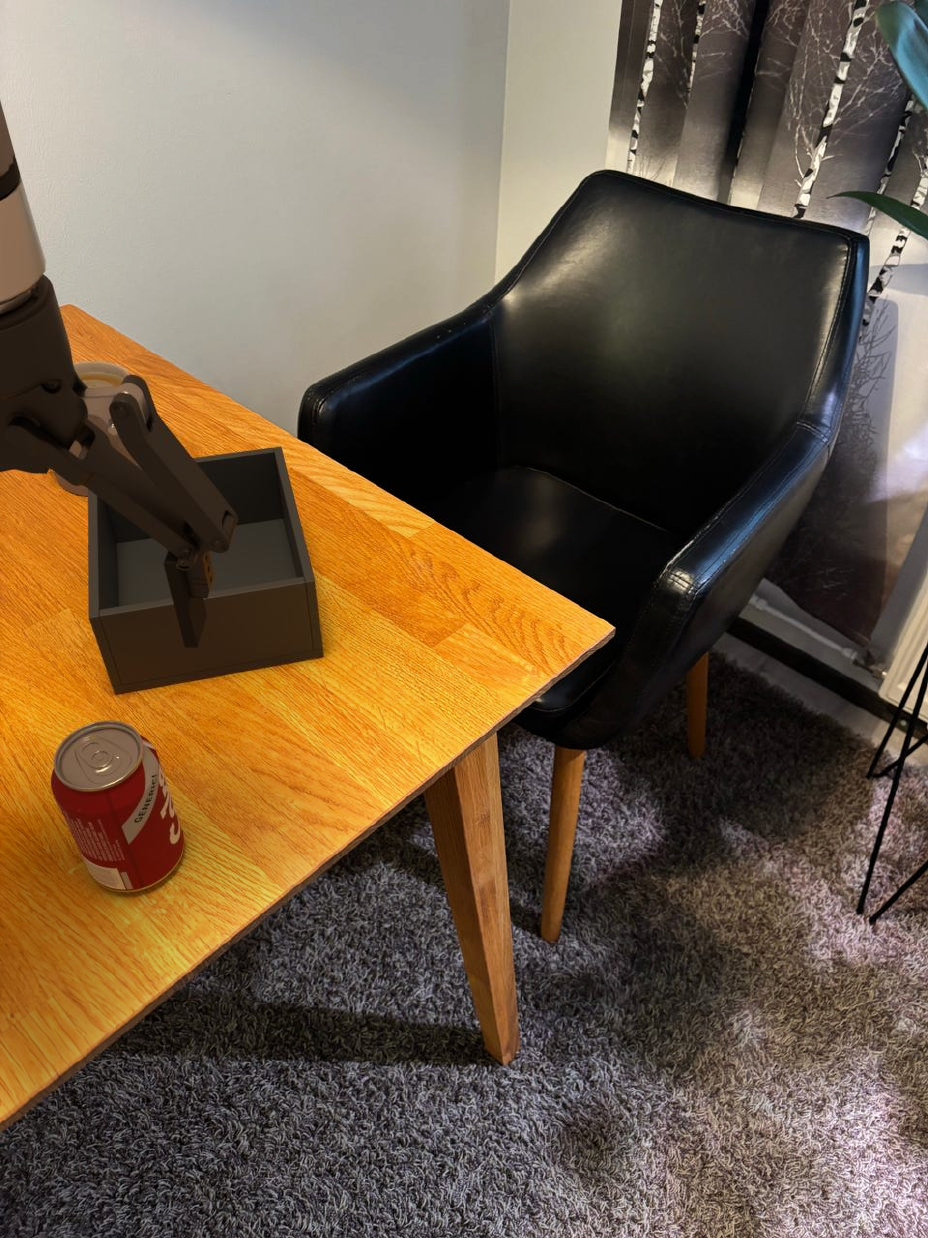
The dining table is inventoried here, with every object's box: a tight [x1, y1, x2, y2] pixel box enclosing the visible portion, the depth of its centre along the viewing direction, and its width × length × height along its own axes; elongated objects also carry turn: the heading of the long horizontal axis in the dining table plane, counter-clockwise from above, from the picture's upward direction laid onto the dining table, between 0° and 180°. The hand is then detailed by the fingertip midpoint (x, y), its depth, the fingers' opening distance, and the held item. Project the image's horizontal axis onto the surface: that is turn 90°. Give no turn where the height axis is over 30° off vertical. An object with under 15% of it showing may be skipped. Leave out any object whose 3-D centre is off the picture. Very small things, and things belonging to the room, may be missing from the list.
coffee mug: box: [54, 360, 138, 497], centre depth 101 cm, size 13×10×10 cm
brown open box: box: [87, 445, 324, 695], centre depth 86 cm, size 18×20×9 cm
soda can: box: [50, 720, 185, 893], centre depth 66 cm, size 7×7×12 cm
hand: (82, 628), depth 58 cm, fingers open, 13 cm apart
